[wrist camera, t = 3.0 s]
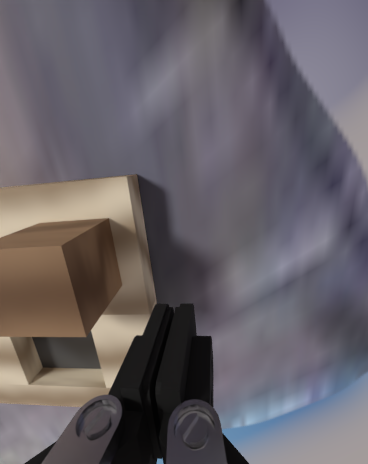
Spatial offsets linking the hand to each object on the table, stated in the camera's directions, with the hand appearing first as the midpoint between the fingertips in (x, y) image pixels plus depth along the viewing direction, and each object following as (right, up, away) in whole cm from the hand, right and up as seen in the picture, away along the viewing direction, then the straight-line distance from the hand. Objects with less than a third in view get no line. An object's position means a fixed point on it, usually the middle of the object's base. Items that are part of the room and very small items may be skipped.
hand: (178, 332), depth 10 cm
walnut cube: (-8, +2, +9) cm, 13 cm away
